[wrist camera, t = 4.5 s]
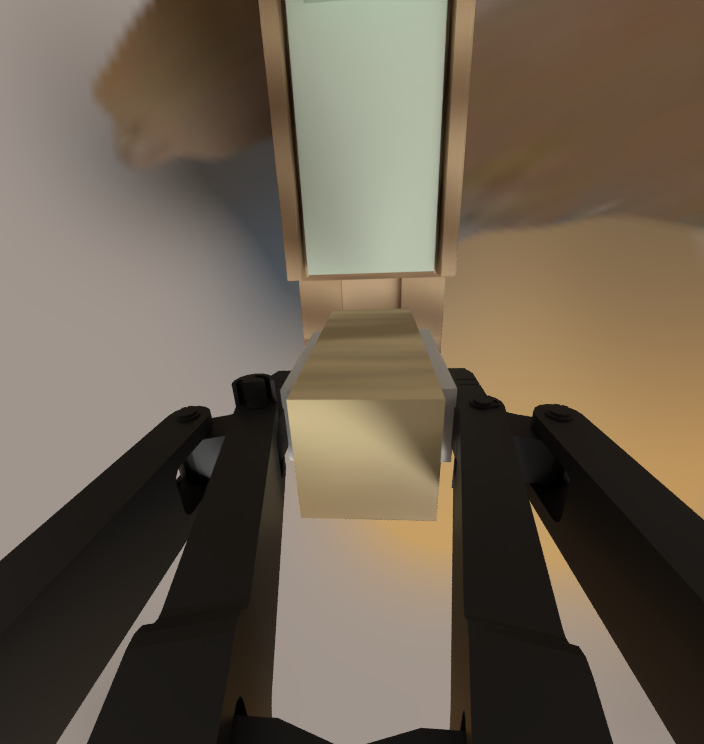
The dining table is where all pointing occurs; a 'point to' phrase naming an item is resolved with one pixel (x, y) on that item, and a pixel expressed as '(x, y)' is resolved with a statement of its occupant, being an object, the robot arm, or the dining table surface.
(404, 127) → the lid
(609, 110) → the dining table surface
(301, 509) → the beige wooden block
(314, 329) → the toolbox
